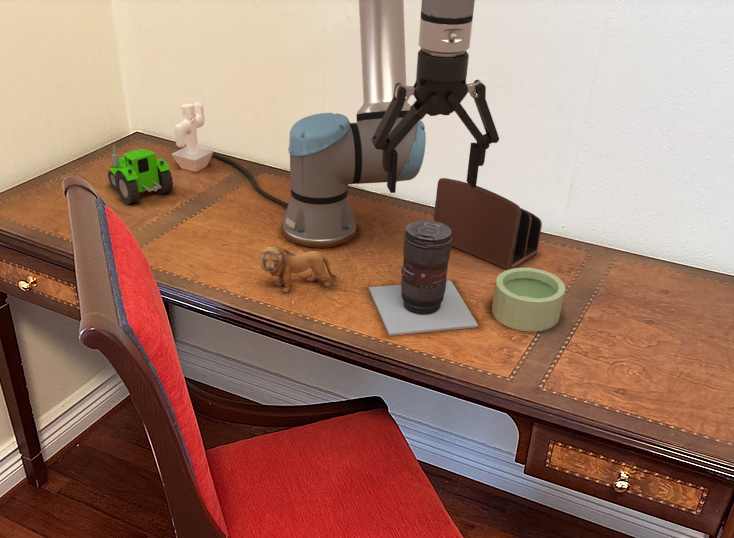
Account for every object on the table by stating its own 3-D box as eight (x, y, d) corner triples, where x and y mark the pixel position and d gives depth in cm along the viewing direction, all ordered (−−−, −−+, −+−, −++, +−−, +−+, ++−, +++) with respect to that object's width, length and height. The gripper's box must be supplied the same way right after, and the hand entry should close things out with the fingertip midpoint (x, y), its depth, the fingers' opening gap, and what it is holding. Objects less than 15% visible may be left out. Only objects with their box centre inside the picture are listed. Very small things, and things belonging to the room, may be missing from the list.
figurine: (169, 170, 191) (161, 107, 182) (194, 158, 198) (188, 96, 188) (193, 176, 188) (187, 112, 179) (218, 164, 195) (212, 101, 186)
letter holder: (509, 271, 156) (520, 204, 147) (430, 238, 166) (436, 173, 157) (537, 254, 162) (549, 188, 153) (459, 223, 172) (466, 160, 163)
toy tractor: (141, 175, 188) (135, 133, 182) (179, 197, 179) (174, 153, 173) (99, 187, 182) (91, 144, 176) (135, 210, 173) (129, 166, 167)
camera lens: (441, 320, 140) (450, 242, 131) (396, 314, 141) (401, 236, 132) (447, 297, 147) (455, 221, 137) (403, 291, 148) (408, 216, 138)
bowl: (482, 299, 147) (486, 270, 144) (543, 293, 149) (549, 265, 146) (505, 334, 138) (510, 304, 134) (570, 328, 140) (576, 298, 136)
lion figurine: (266, 300, 145) (264, 255, 140) (257, 286, 149) (254, 242, 143) (341, 285, 150) (341, 241, 144) (330, 272, 154) (330, 229, 148)
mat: (368, 289, 149) (368, 287, 149) (450, 282, 152) (451, 280, 152) (389, 336, 137) (389, 333, 136) (477, 327, 140) (478, 325, 139)
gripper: (366, 60, 112) (361, 201, 125) (532, 54, 117) (511, 191, 130) (355, 45, 118) (352, 182, 131) (514, 40, 122) (495, 173, 136)
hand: (431, 187), depth 131 cm, fingers open, 13 cm apart
